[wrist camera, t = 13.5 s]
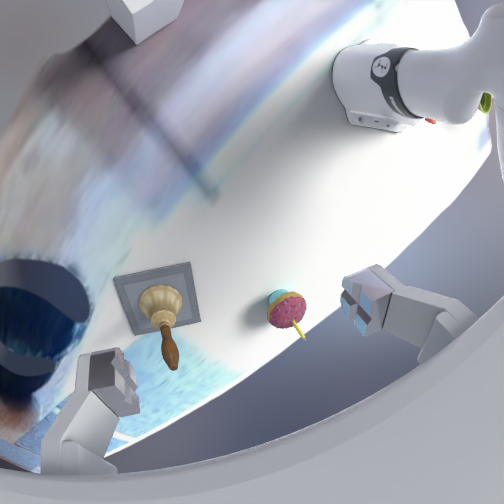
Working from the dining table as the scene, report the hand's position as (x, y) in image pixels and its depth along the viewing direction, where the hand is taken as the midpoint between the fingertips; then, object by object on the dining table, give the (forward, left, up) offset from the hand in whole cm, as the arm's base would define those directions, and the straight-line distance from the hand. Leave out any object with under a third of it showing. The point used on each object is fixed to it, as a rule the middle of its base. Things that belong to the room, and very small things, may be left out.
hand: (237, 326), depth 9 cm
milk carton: (+8, -21, -37) cm, 43 cm away
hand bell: (-2, +27, -36) cm, 45 cm away
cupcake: (-27, +27, -37) cm, 53 cm away
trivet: (-2, +27, -37) cm, 45 cm away
